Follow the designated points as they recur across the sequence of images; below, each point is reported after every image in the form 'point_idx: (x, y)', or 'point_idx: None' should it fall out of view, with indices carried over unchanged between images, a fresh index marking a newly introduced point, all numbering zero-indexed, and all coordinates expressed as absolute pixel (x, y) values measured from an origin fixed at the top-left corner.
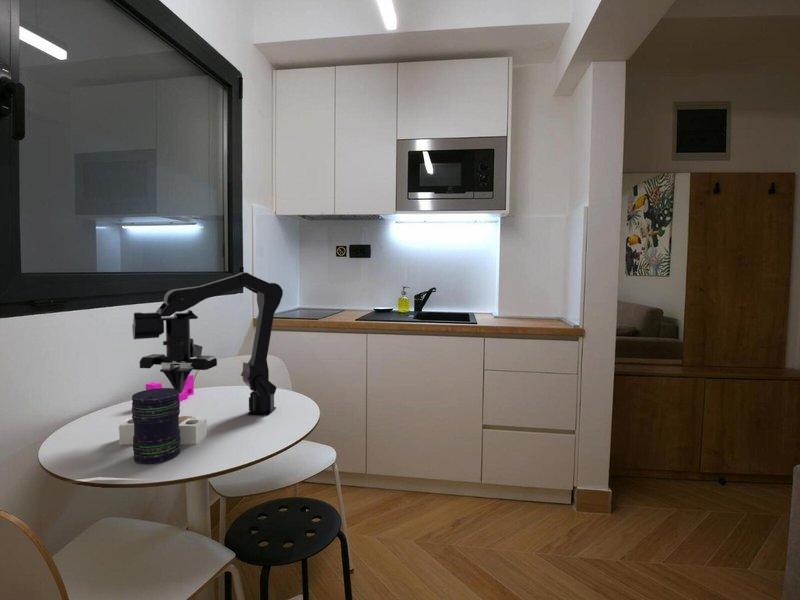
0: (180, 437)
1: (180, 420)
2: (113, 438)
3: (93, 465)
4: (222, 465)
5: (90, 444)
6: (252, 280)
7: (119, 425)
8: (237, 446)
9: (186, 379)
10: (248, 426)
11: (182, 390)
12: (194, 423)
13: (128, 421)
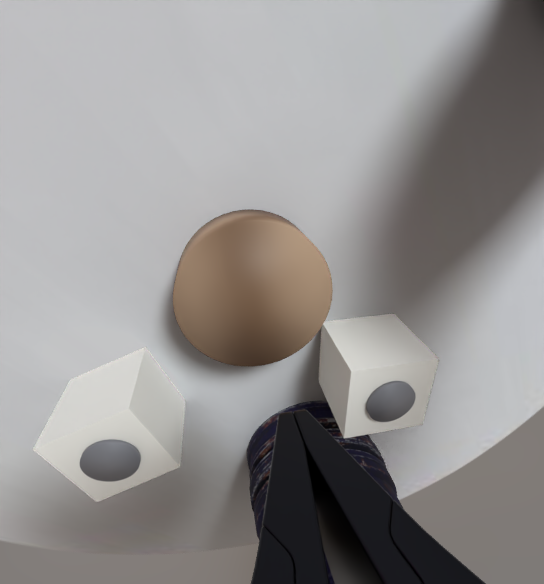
0: (381, 457)
1: (254, 295)
2: (26, 399)
3: (179, 518)
4: (489, 438)
5: (2, 453)
6: None
7: (95, 500)
8: (510, 348)
9: (407, 518)
10: (532, 164)
11: (318, 425)
12: (406, 408)
13: (98, 476)
